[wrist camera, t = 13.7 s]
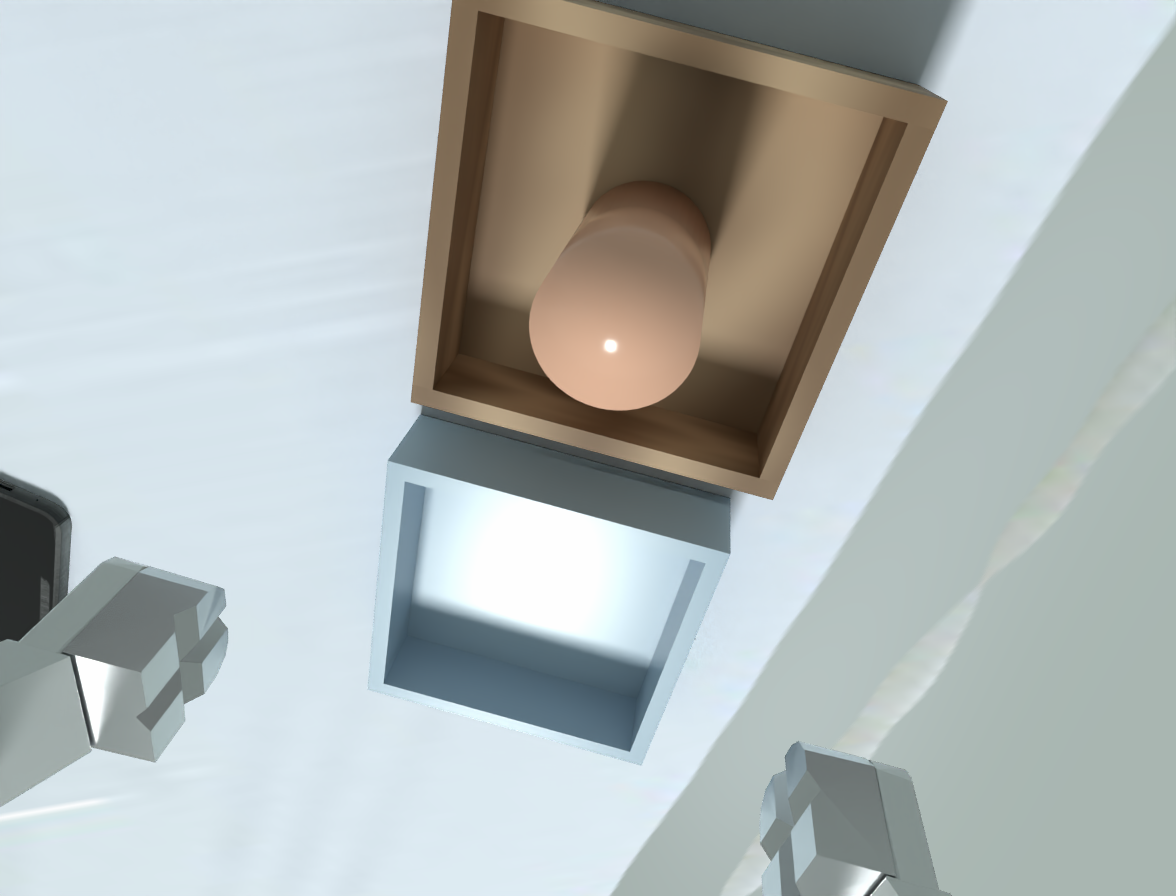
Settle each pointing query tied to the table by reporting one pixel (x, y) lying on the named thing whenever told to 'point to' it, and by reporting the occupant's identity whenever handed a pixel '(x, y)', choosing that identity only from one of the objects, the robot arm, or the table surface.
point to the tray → (685, 162)
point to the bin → (539, 587)
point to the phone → (31, 559)
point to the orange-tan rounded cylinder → (625, 299)
